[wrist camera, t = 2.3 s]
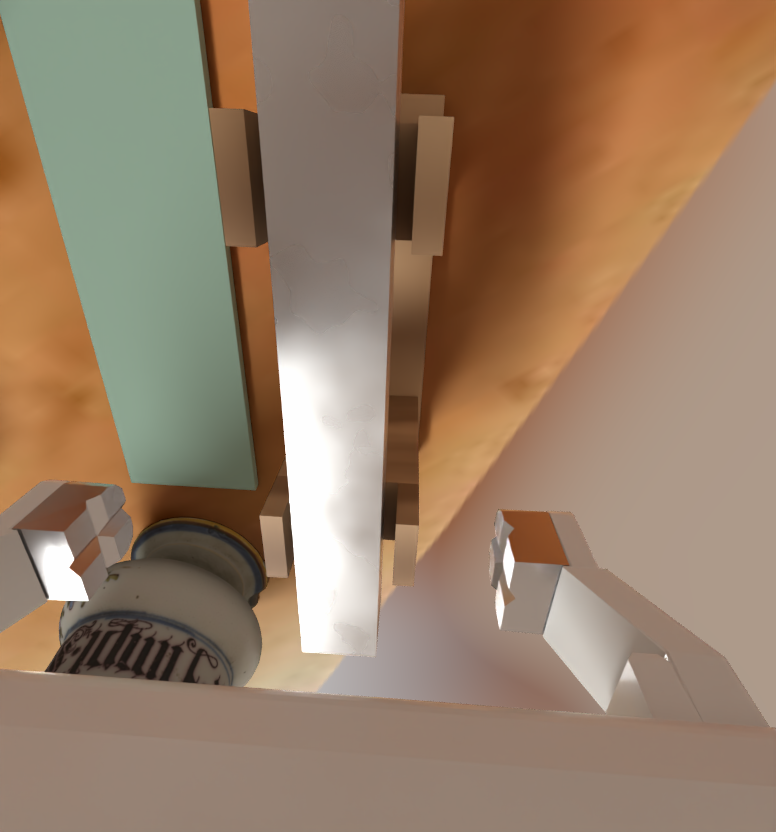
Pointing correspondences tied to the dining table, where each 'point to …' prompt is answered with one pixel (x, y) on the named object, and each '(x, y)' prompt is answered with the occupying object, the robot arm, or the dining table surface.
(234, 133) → the rack
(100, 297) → the mat
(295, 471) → the rail
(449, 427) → the dining table surface
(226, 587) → the apothecary jar
